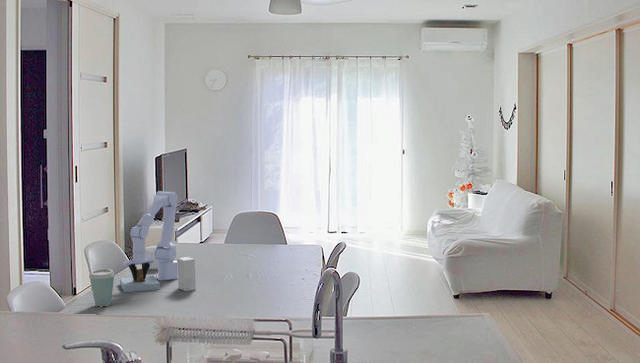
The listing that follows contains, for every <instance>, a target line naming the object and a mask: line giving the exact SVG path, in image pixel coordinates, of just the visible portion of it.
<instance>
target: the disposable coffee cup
mask: <svg viewBox="0 0 640 363" xmlns="http://www.w3.org/2000/svg"><path fill="white" fill-rule="evenodd" d="M89 280H90V284H91V285H90V286H91V290H92V296H93V300H94V305H95V307H97V306H100V307H99V308H104V307H103V306H106V307H109V306H111V305H112V299H113V289H114V280H115V272H114V270H113V269H110V268H98V269H95V270H94V269H93V271H90V274H89Z"/></svg>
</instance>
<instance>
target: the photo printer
mask: <svg viewBox="0 0 640 363" xmlns="http://www.w3.org/2000/svg"><path fill="white" fill-rule="evenodd" d="M156 247H157V245H152V246H147V247H145V259H152V258H153V259H155V263H149V264H150V267H149V269H148V270H158V261H157V259H156V258H155V255H154V253H155V250H156Z"/></svg>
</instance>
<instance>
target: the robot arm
mask: <svg viewBox="0 0 640 363" xmlns="http://www.w3.org/2000/svg"><path fill="white" fill-rule="evenodd" d="M178 200H179V196H178V195H177V193H176V192H175V191H162V190H158V191H157V192H155V195H154V196H153V202H152V204H151V206H150V208H149V209H148V211H147V213H144V214H143V215H141V218H140V219H139V221H137V223H136V225H134V226H133V227H131V229H130V232H129V235H130V237H131V241H132V259H131V260H126V261H125V260H124V261H123V266H124V267H128V268H129V270H130V272H131V275H132V277H133V280H136V270H137V269H138V268H137V266H136V265H141V269H143V279H145V278H146V276H147V273H148V270H150V269H149V267H150V264H149V263H155V259H153V258H152V259H145V250H146V238H147V237H148V235H149V230H150V228H151V226H152V224H153V222H154V221H155V219H154V217H155V216H156V214H158V212H159V211H160V209H161V208H163V210H164V214H163V215H164V217H163V224H162V225H163V226H162V231H161V233H162V234H161V238H160V239H161V240H160V242H159V243H157V244H156V246H157V247H156V250H155V253H154V255H155V258H156V259H157V261H158V269H157V276H156V277H155V278H156V280H157V281H168V280H169V281H170V280H178V260H175V259H176V258H177V246H176V245H175V244H174V243H173V236H174V230H175V229H174V228H175V221H176V212H177V207H178V206H177V205H178Z"/></svg>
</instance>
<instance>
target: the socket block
mask: <svg viewBox="0 0 640 363" xmlns="http://www.w3.org/2000/svg"><path fill="white" fill-rule="evenodd" d="M119 285H120V287H121V289H122V290H123V292H124V293H131V292H144V291H154V290H155V291H156V290H160V282H159V280H158V279H157V277H155V276H154V275H149V276H148V275H146V278H145V279H144V282H135V280H133V276H132V277H123V278H122V277H120V278H119Z"/></svg>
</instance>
